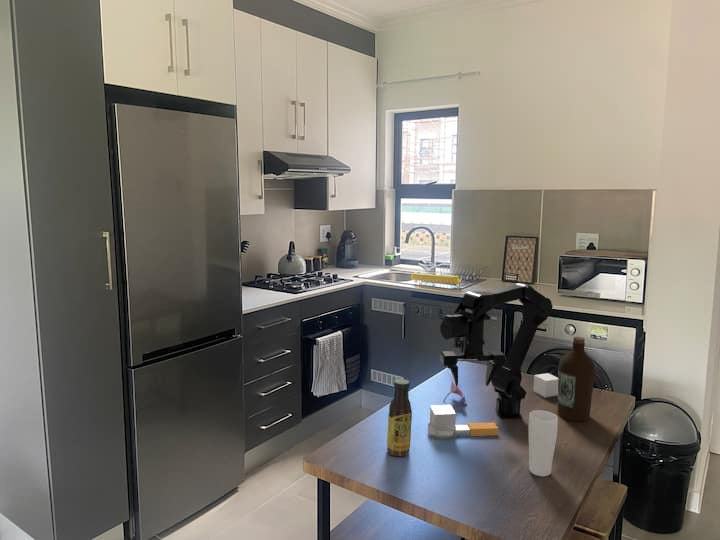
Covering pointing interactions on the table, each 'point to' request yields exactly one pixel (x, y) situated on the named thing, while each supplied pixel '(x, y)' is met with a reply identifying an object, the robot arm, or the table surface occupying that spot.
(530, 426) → the drinking glass
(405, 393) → the sauce bottle
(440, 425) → the brushed metal cube
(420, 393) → the table surface
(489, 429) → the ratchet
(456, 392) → the lily
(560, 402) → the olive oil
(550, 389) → the white cube
